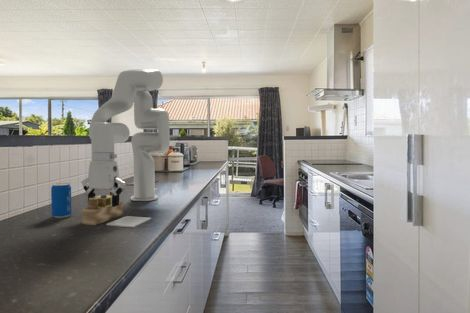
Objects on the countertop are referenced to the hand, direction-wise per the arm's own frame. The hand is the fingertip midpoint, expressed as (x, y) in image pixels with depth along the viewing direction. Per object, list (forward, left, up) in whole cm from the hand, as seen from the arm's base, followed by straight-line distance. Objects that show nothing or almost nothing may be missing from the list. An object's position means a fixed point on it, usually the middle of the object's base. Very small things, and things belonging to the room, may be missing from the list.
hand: (103, 205), depth 119 cm
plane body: (0, 0, -5) cm, 5 cm away
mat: (+1, +11, -5) cm, 12 cm away
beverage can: (+1, -17, -5) cm, 18 cm away
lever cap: (0, 0, 0) cm, 0 cm away
